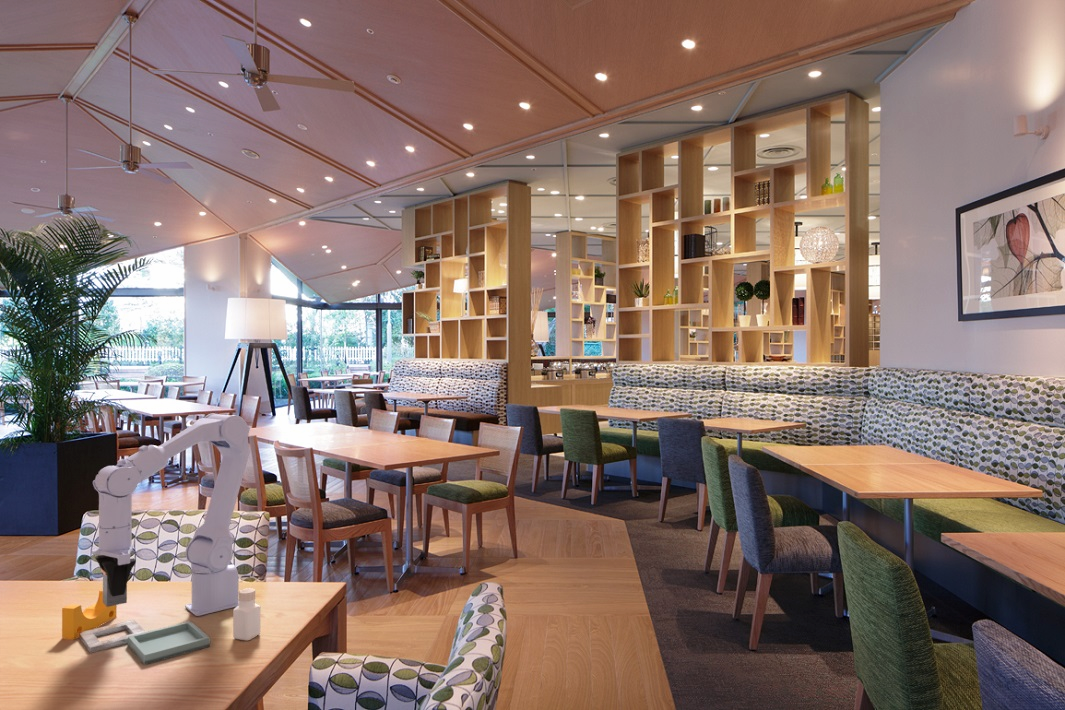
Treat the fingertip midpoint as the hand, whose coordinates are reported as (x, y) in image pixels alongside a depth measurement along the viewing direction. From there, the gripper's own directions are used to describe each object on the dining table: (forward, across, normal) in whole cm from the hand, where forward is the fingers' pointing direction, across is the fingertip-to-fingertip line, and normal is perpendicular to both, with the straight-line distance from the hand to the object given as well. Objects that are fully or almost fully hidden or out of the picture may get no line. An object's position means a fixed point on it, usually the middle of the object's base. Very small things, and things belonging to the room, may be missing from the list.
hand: (115, 592), depth 140 cm
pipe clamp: (+10, -10, -3) cm, 15 cm away
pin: (+2, 0, 0) cm, 2 cm away
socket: (+9, 0, 0) cm, 9 cm away
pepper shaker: (+10, +18, +20) cm, 28 cm away
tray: (+9, +12, +7) cm, 16 cm away
